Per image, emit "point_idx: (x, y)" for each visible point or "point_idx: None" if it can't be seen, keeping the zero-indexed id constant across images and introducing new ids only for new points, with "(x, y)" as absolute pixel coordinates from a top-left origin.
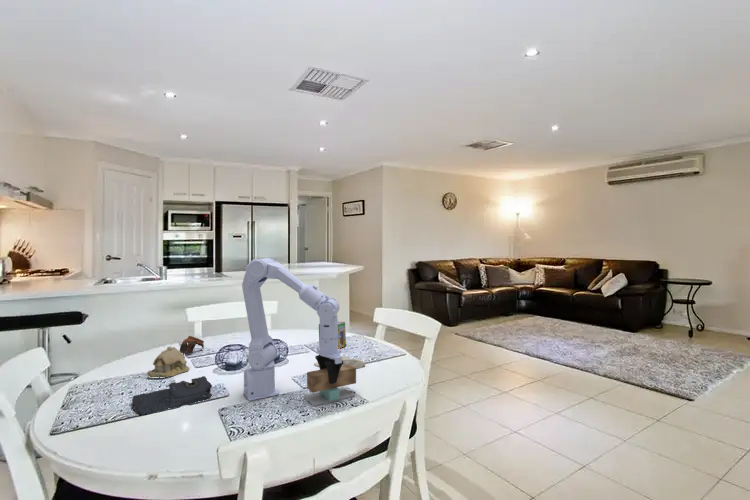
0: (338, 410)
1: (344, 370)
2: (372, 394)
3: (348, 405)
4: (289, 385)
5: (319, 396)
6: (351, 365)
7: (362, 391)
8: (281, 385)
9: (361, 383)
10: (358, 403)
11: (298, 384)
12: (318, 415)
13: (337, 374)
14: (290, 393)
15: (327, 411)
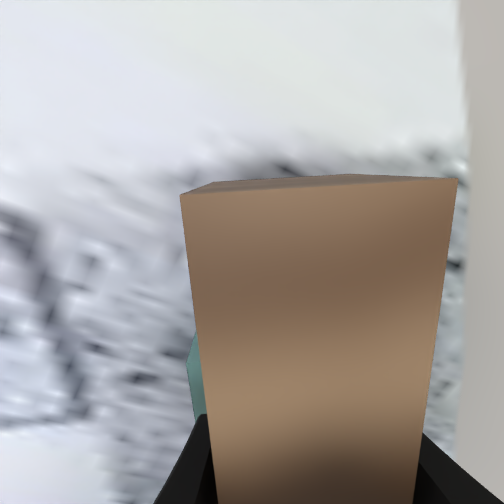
0: (463, 353)
1: (426, 386)
2: (397, 58)
3: (445, 287)
4: (14, 466)
5: None
6: (275, 197)
7: (303, 106)
8: (2, 495)
9: (139, 28)
10: (461, 224)
11: (12, 427)
12: (447, 441)
13: (462, 479)
14: (134, 482)
15: (437, 399)
